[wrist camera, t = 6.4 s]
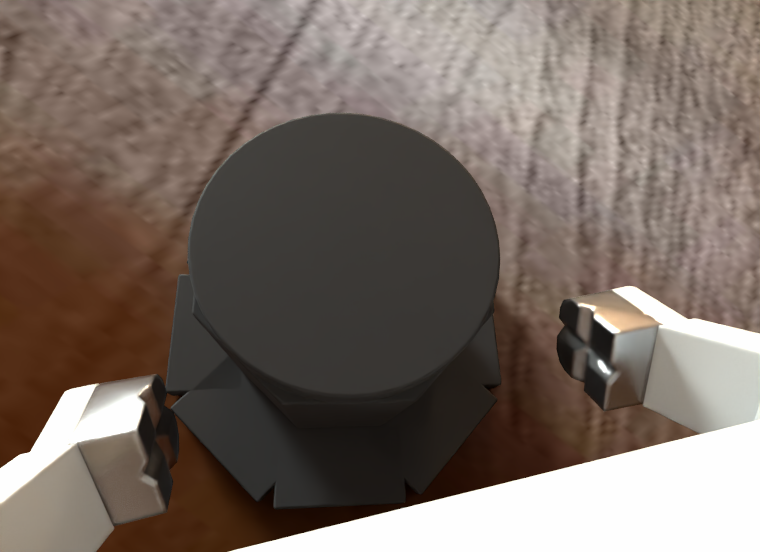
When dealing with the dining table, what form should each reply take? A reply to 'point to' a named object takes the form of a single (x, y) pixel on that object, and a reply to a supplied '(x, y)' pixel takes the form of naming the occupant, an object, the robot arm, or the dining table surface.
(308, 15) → the dining table surface
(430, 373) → the hat
